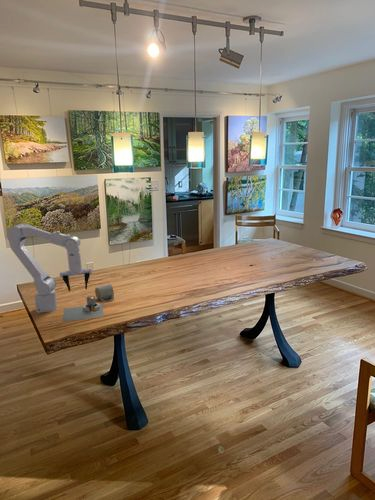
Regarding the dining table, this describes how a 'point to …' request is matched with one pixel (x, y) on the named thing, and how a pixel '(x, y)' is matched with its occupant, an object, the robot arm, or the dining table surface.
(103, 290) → the ceramic mug
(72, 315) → the hub board
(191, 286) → the dining table surface
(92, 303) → the knob
